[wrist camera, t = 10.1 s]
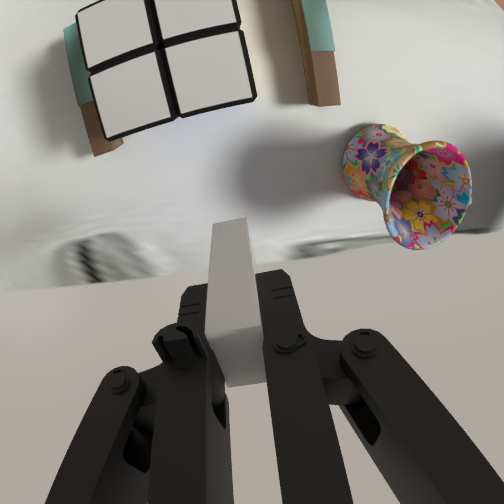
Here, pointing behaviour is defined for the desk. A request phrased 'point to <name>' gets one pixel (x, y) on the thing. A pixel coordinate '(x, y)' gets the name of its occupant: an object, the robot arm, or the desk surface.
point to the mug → (409, 184)
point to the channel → (312, 48)
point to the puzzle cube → (162, 61)
